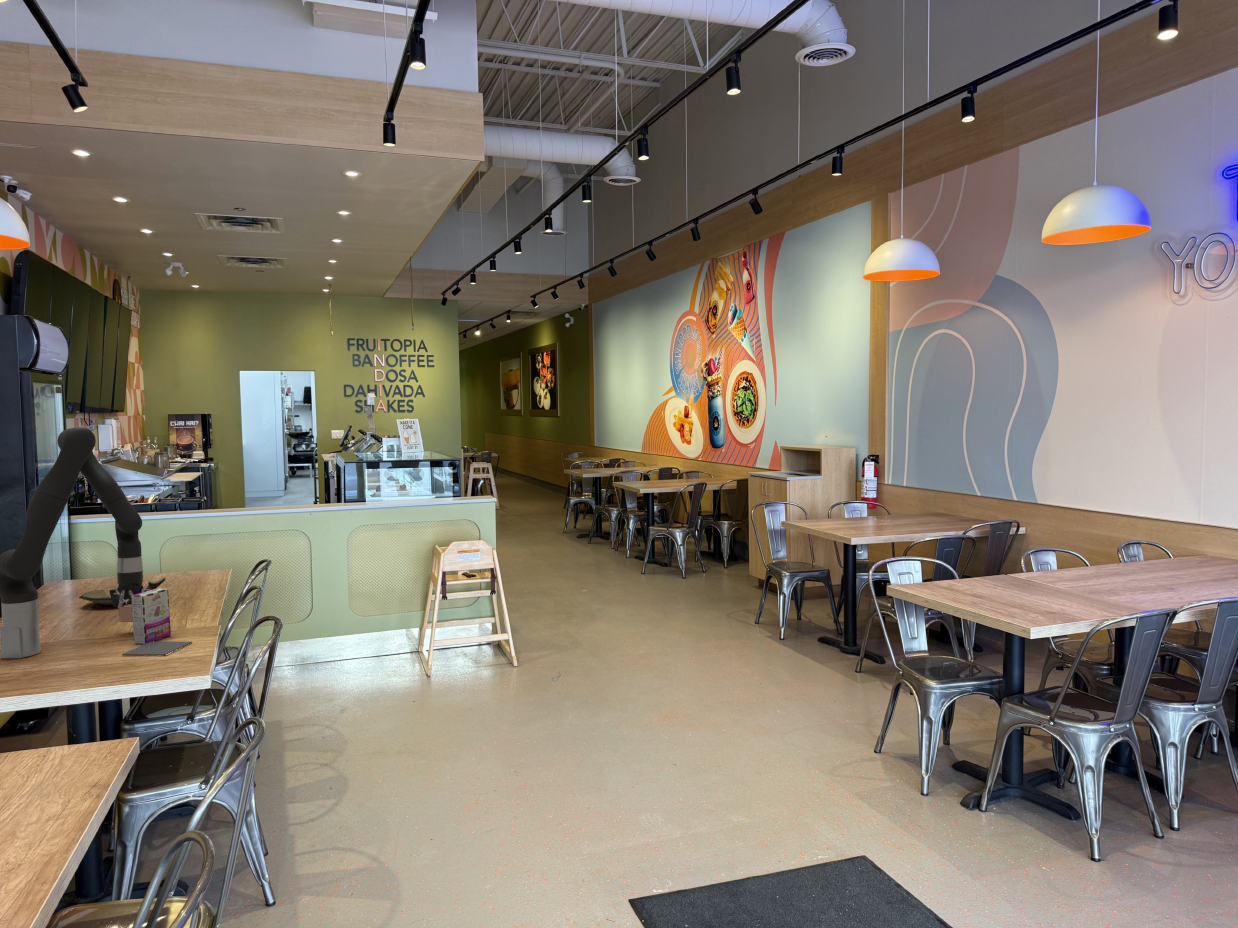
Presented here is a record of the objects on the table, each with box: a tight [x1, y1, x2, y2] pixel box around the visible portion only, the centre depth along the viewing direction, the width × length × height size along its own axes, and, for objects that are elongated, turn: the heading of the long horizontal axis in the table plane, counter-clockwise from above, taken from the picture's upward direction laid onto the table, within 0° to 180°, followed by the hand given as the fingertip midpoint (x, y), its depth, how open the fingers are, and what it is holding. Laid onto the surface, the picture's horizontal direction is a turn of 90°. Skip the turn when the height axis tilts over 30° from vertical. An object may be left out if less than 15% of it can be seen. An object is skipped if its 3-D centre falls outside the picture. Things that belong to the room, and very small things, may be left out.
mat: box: [121, 641, 193, 656], centre depth 253 cm, size 14×14×1 cm
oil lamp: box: [78, 577, 167, 606], centre depth 319 cm, size 22×30×8 cm
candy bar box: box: [131, 587, 172, 645], centre depth 264 cm, size 11×5×16 cm, turn 168°
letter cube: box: [118, 604, 133, 623], centre depth 272 cm, size 5×5×5 cm
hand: (131, 618), depth 273 cm, fingers closed on letter cube, 5 cm apart
